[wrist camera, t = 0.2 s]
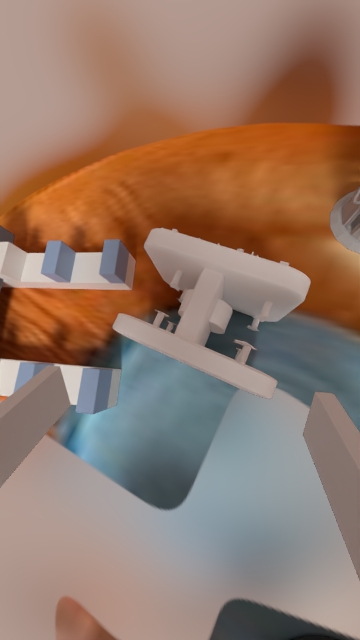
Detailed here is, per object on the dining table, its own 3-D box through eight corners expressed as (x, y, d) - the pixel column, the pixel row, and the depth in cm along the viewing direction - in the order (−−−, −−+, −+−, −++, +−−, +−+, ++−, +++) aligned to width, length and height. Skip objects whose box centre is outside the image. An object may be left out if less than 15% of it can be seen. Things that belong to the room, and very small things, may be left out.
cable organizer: (140, 340, 29) (93, 323, 18) (173, 271, 31) (147, 215, 19) (250, 389, 26) (276, 406, 14) (280, 309, 27) (326, 267, 16)
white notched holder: (116, 405, 28) (92, 414, 22) (-47, 385, 32) (-98, 388, 27) (135, 260, 32) (119, 239, 26) (-12, 261, 36) (-51, 243, 31)
